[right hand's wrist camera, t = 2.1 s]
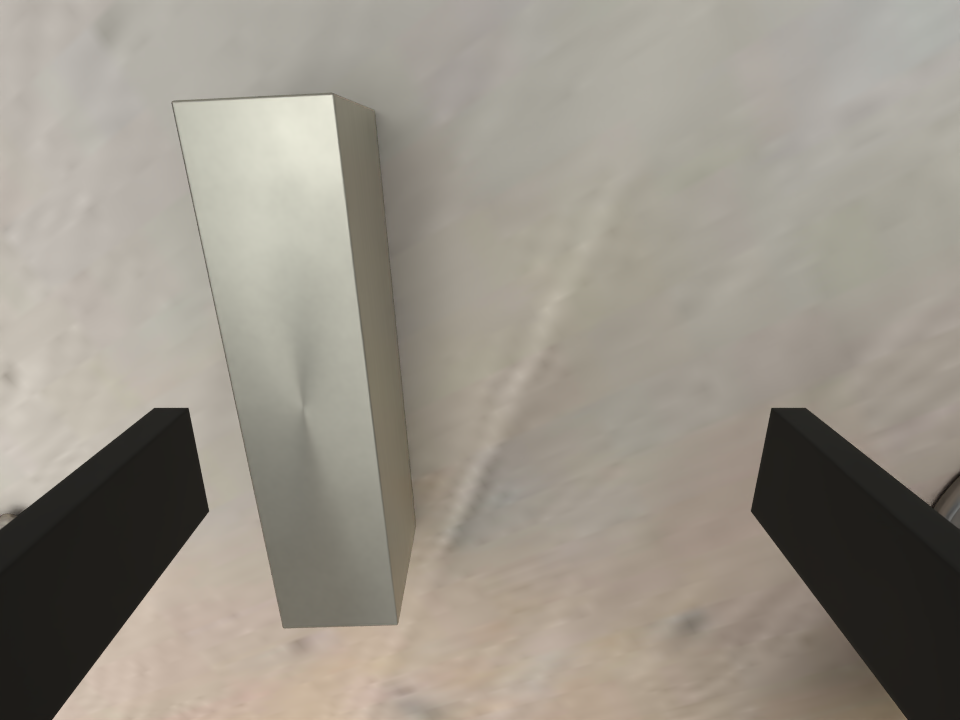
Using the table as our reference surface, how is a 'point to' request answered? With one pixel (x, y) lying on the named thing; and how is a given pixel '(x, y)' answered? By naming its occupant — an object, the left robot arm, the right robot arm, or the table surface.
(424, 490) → the table surface
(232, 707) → the table surface
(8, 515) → the syringe
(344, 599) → the bar
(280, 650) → the table surface
